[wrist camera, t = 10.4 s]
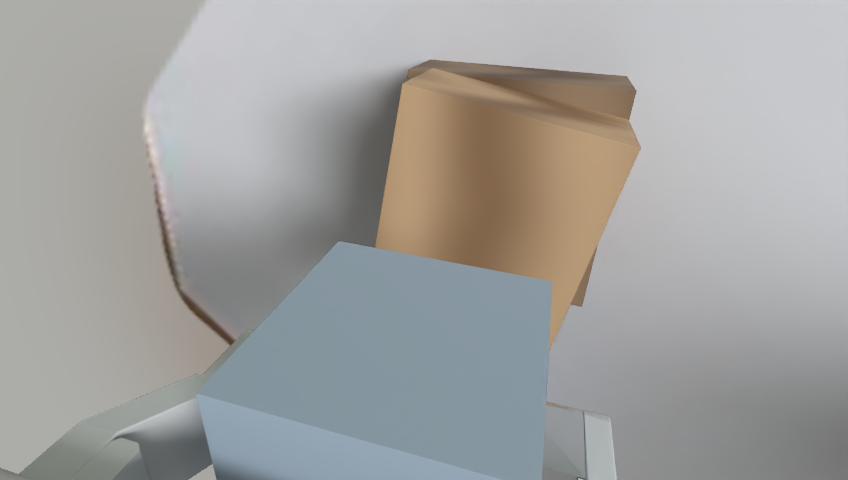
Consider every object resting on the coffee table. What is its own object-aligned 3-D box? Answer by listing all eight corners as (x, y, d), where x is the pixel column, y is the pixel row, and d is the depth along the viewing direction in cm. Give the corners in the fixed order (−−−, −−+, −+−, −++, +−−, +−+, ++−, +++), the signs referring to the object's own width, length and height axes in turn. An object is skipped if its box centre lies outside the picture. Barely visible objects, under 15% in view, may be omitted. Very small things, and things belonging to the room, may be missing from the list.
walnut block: (626, 75, 21) (636, 90, 18) (580, 265, 26) (581, 306, 22) (432, 58, 23) (408, 69, 20) (423, 238, 28) (402, 272, 24)
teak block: (628, 119, 18) (640, 147, 15) (551, 300, 23) (547, 354, 19) (432, 67, 19) (402, 83, 16) (397, 250, 24) (367, 292, 20)
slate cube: (552, 281, 10) (540, 490, 6) (517, 437, 12) (490, 667, 8) (338, 240, 11) (195, 393, 7) (343, 392, 14) (239, 576, 9)
